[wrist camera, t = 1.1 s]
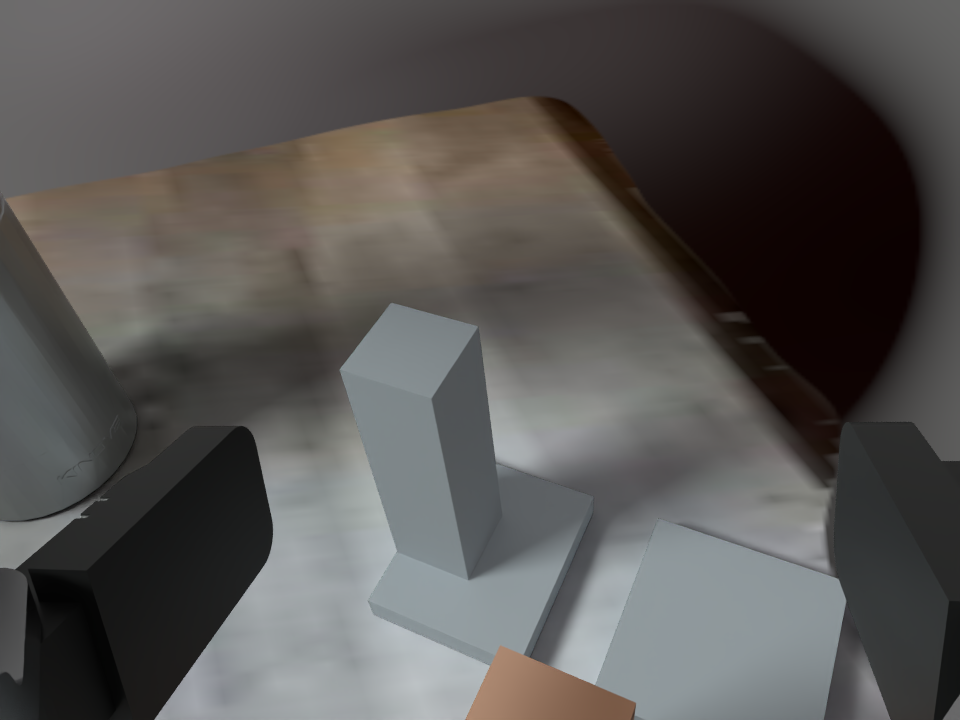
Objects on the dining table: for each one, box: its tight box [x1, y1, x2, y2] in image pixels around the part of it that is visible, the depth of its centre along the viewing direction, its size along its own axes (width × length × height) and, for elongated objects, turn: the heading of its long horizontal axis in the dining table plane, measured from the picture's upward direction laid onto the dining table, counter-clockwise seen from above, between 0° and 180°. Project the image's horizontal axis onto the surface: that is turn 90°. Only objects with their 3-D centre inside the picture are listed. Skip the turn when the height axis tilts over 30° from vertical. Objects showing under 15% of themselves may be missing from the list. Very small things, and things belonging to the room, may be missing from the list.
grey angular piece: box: [340, 303, 846, 720], centre depth 30 cm, size 18×8×13 cm, turn 64°
